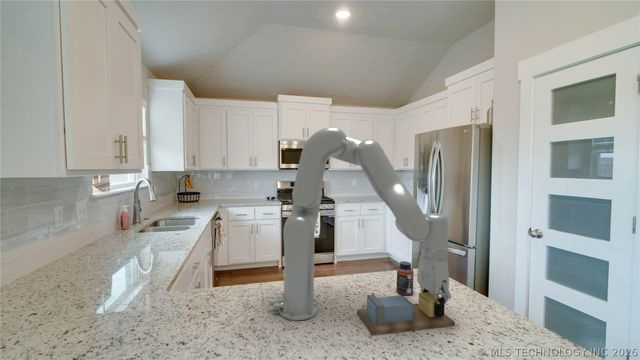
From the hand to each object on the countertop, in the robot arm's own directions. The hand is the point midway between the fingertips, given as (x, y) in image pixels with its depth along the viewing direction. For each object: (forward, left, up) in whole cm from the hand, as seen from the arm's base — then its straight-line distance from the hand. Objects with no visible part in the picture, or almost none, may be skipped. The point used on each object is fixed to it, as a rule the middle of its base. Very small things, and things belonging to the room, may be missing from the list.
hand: (432, 309), depth 85 cm
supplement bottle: (0, +17, -2) cm, 17 cm away
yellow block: (-1, 0, -1) cm, 1 cm away
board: (-10, 0, -2) cm, 10 cm away
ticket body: (-15, 0, -1) cm, 15 cm away
